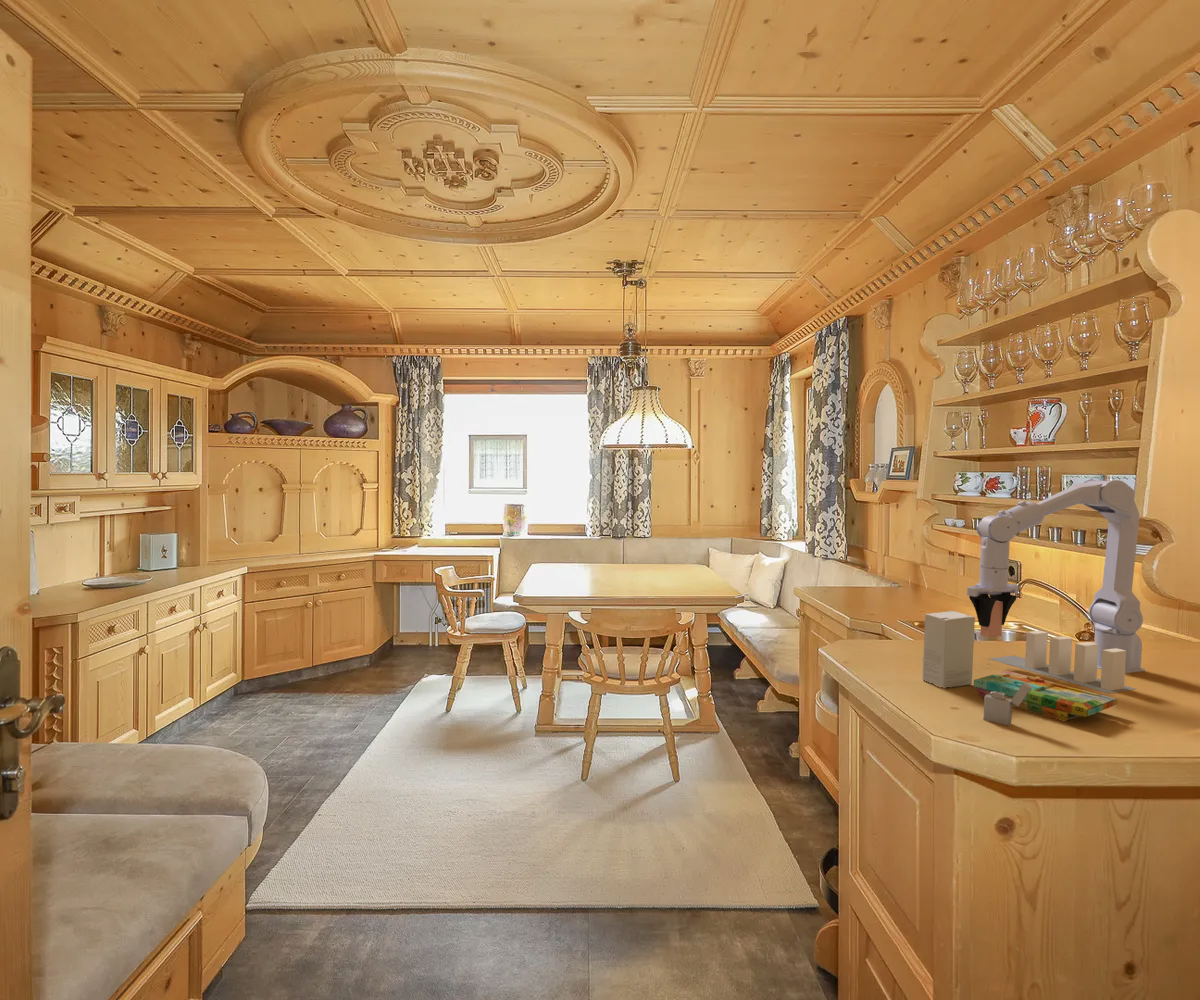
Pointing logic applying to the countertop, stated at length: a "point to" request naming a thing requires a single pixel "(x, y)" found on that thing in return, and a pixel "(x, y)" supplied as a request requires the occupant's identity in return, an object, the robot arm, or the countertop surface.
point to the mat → (1020, 663)
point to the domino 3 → (1060, 655)
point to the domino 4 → (1085, 662)
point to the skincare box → (948, 649)
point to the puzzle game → (1045, 695)
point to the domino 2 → (1036, 649)
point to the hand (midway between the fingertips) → (991, 625)
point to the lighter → (1003, 705)
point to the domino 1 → (994, 622)
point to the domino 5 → (1113, 669)
